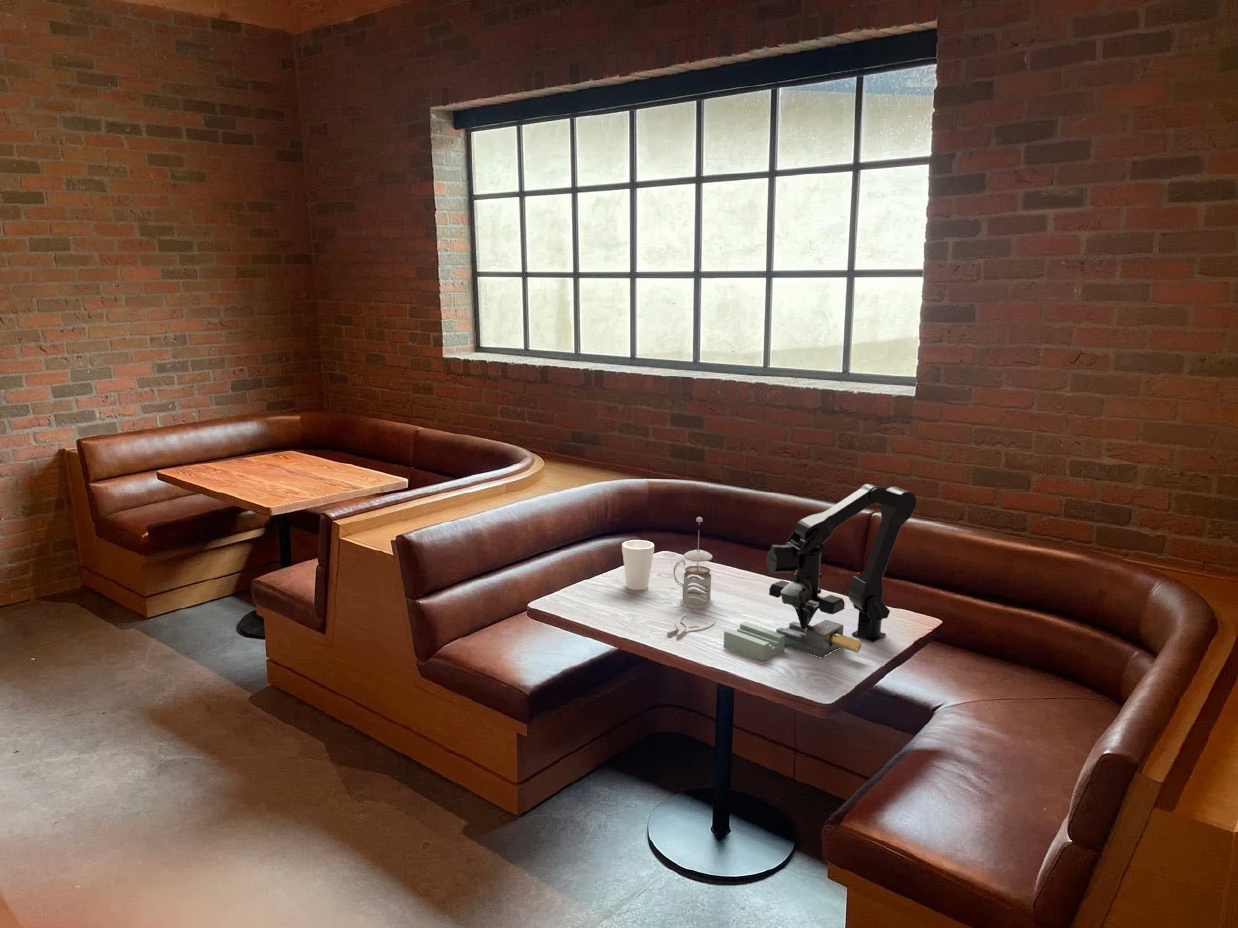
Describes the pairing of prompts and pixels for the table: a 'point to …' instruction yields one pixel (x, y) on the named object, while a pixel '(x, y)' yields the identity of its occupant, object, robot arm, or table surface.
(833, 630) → the grey slotted block
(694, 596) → the french press
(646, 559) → the foam cup
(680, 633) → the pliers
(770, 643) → the v block
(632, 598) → the table surface
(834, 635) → the axle
